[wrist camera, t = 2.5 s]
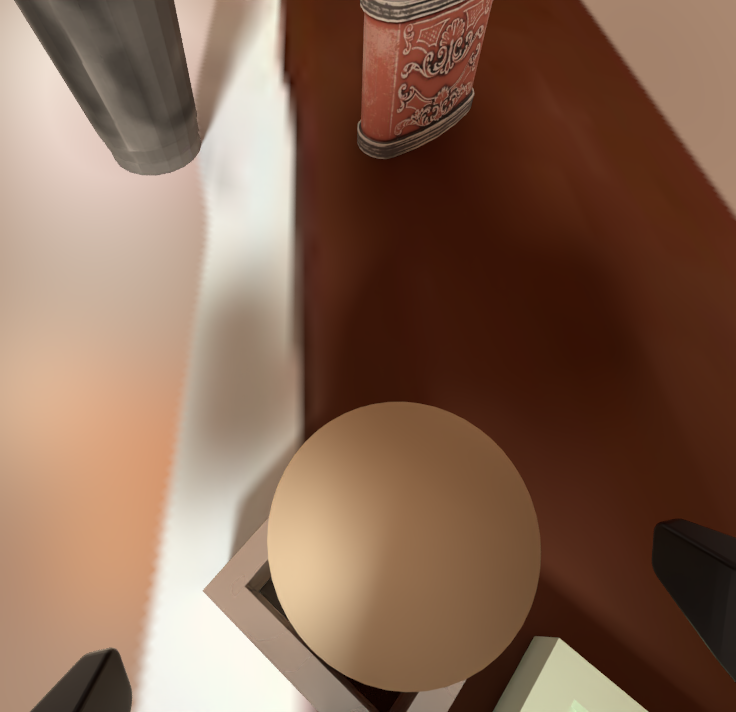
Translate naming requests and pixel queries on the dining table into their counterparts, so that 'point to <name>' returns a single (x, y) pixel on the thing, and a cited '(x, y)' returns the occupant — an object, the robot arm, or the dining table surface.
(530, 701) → the tray
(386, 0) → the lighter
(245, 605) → the pin socket
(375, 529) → the pin
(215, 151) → the dining table surface
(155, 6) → the beverage cup
